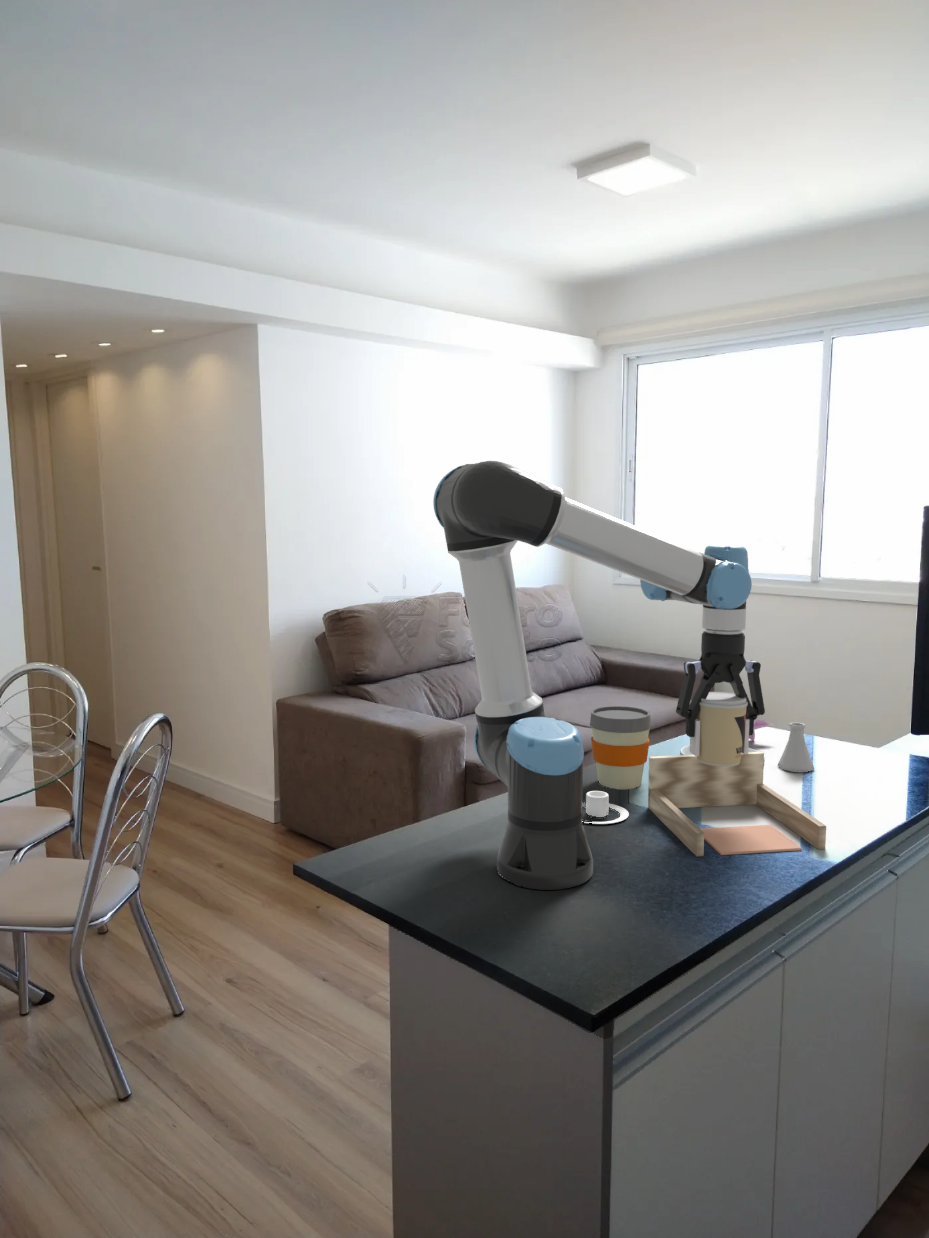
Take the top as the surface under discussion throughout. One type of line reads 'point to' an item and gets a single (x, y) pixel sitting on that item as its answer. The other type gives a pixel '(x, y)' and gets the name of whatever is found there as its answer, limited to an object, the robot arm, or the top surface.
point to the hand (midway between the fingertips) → (718, 753)
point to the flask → (796, 751)
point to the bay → (719, 796)
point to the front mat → (748, 840)
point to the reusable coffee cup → (620, 745)
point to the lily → (759, 726)
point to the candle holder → (602, 807)
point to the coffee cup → (721, 729)
